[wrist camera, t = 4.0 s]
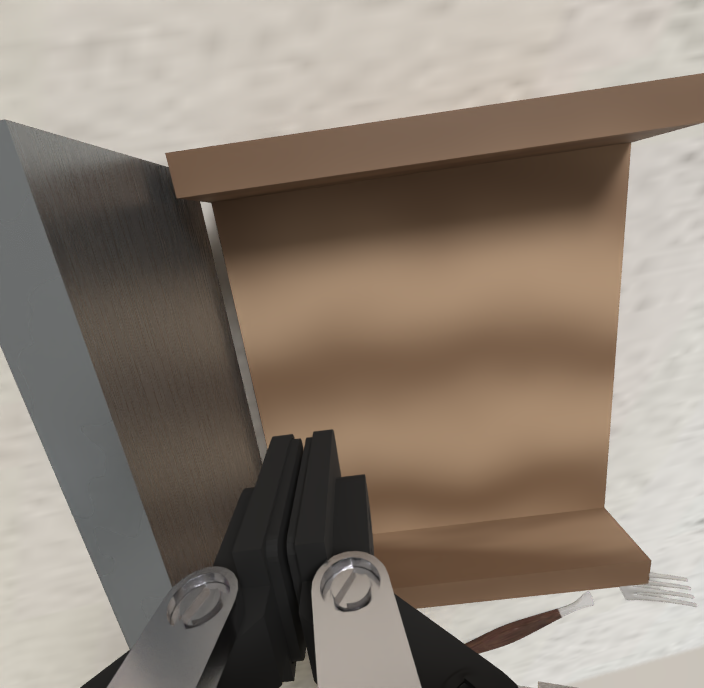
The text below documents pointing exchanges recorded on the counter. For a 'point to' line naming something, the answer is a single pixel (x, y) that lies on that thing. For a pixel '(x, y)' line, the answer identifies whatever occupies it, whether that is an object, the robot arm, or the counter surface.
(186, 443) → the panel
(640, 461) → the counter surface
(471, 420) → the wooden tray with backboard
